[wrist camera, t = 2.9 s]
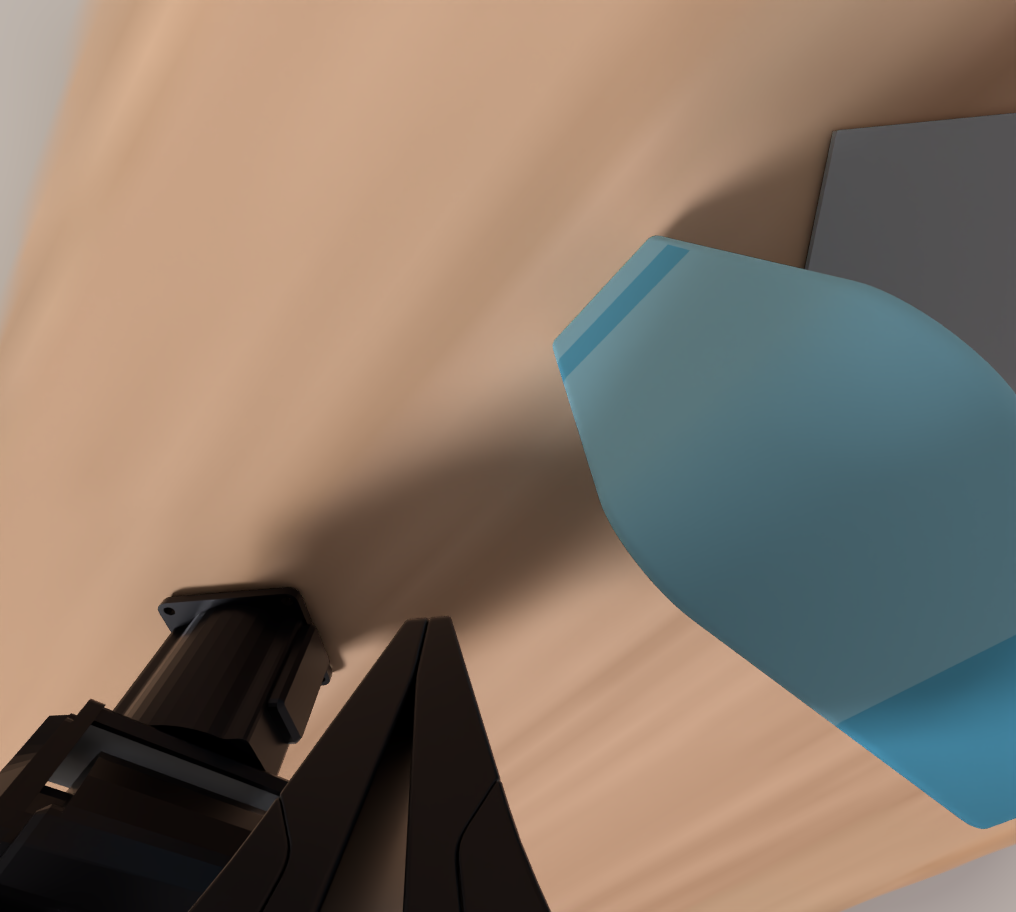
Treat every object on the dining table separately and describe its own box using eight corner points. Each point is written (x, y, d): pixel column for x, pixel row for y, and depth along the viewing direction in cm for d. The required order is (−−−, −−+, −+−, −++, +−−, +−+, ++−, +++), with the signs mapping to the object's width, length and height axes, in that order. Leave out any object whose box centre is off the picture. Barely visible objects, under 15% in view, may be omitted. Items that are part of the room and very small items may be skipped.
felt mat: (746, 550, 22) (749, 553, 21) (832, 131, 14) (837, 130, 14) (1012, 529, 21) (1016, 532, 21) (1247, 90, 14) (1257, 89, 13)
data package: (545, 334, 17) (612, 569, 6) (642, 228, 15) (967, 294, 4) (746, 516, 20) (1002, 856, 10) (841, 447, 19) (1269, 764, 8)
